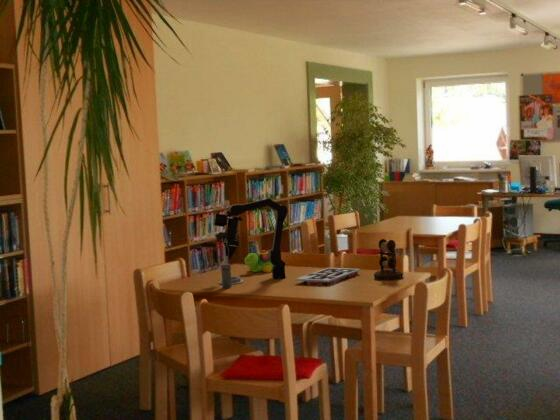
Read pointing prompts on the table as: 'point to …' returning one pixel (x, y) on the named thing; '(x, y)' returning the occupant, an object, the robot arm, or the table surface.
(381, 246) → the dark figurine on base
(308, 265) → the table surface
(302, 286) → the table surface
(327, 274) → the maze game
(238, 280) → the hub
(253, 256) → the turtle toy
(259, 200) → the robot arm
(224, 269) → the knob
